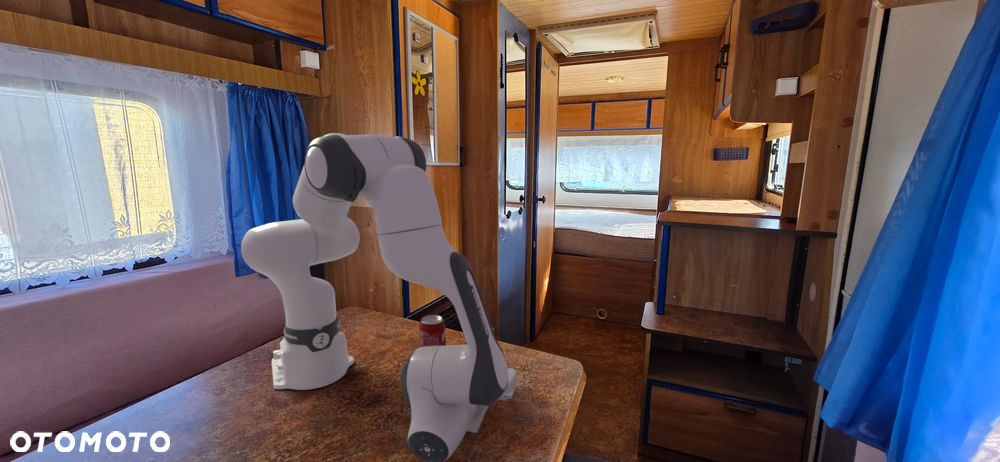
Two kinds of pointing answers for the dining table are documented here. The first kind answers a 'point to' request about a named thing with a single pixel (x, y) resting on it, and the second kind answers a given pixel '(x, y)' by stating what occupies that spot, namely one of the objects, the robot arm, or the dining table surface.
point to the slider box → (477, 419)
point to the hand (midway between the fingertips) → (479, 359)
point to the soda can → (432, 331)
